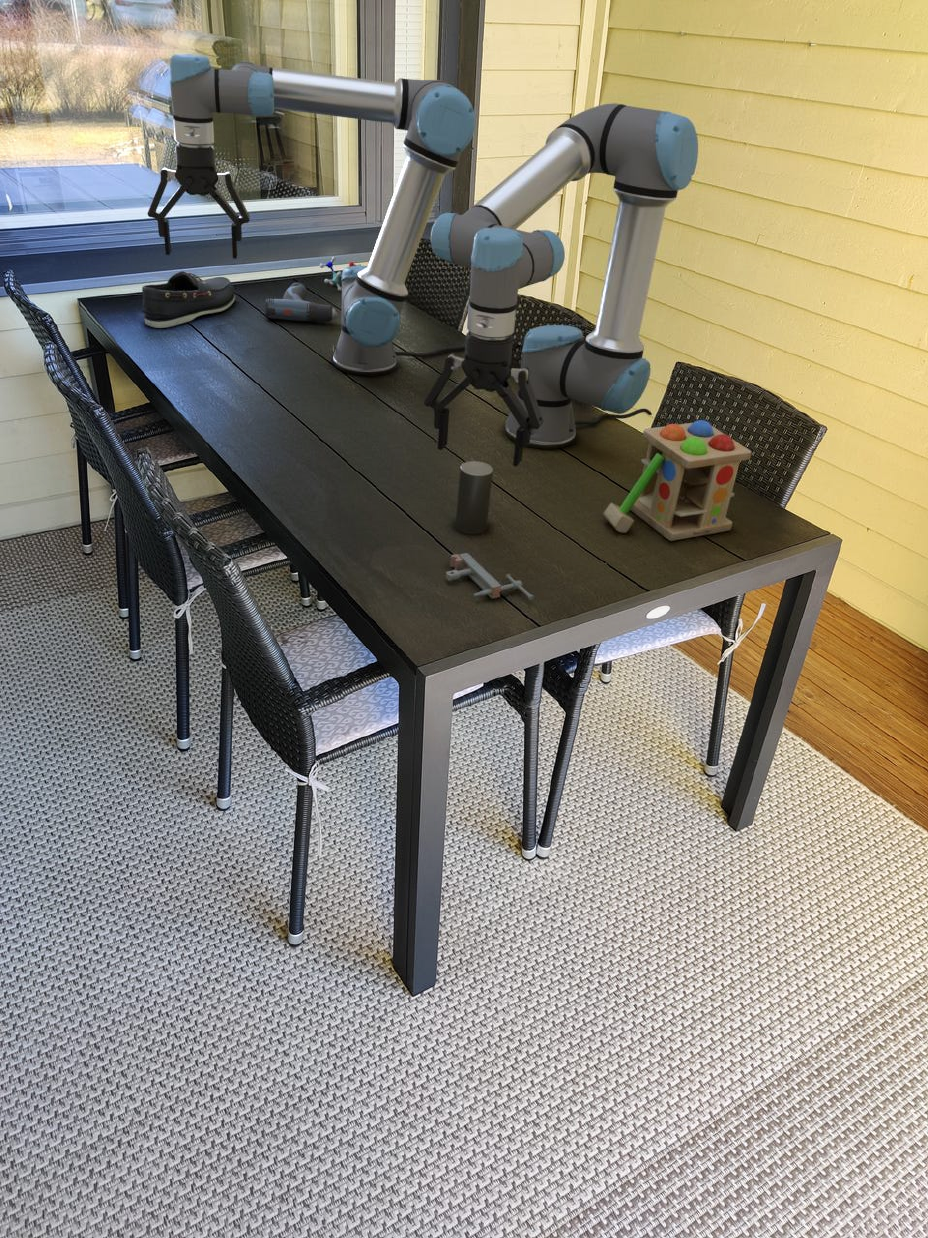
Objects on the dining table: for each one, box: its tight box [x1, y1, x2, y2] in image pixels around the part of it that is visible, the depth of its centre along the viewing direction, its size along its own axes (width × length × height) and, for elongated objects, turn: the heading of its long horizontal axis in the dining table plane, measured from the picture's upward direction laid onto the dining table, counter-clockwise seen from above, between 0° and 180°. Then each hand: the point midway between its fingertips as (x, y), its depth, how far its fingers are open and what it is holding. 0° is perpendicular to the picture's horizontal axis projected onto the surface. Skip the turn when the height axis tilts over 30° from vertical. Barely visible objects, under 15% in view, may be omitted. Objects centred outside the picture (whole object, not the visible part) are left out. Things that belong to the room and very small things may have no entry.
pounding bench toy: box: [603, 419, 753, 542], centre depth 178 cm, size 23×14×18 cm, turn 116°
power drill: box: [264, 282, 338, 322], centre depth 265 cm, size 5×19×20 cm
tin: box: [454, 460, 494, 536], centre depth 172 cm, size 6×6×12 cm
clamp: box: [445, 552, 535, 601], centre depth 158 cm, size 15×2×10 cm
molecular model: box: [319, 256, 362, 292], centre depth 287 cm, size 12×10×10 cm
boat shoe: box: [141, 270, 236, 329], centre depth 257 cm, size 13×33×10 cm, turn 147°
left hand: (201, 255), depth 206 cm, fingers open, 13 cm apart
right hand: (479, 454), depth 168 cm, fingers open, 13 cm apart
